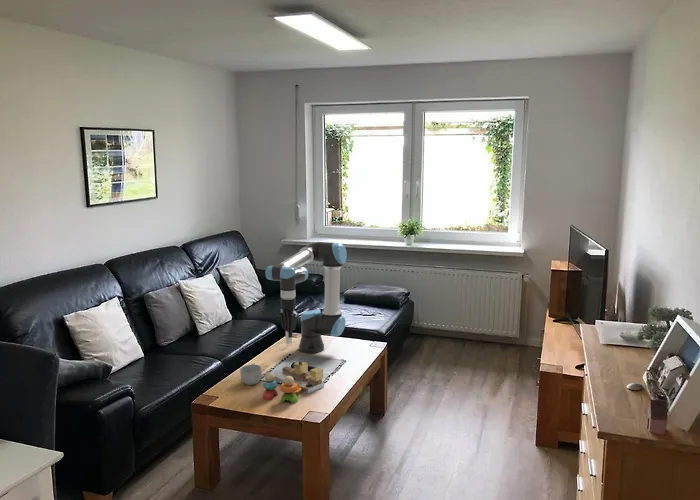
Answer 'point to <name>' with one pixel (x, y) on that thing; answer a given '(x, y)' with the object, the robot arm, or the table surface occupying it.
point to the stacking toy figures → (287, 387)
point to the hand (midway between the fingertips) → (288, 343)
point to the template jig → (303, 379)
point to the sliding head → (299, 368)
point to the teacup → (251, 374)
